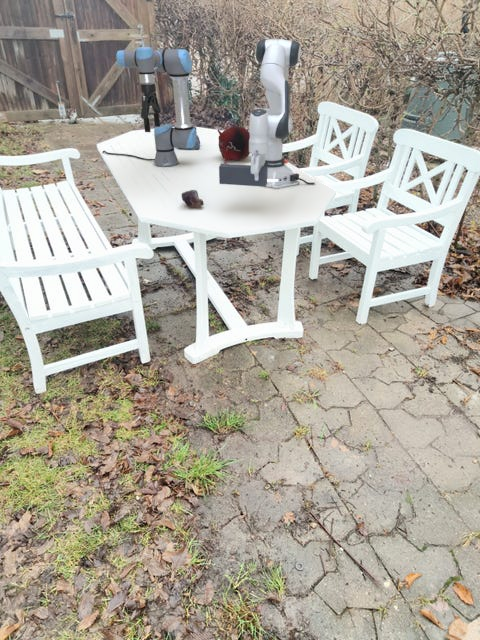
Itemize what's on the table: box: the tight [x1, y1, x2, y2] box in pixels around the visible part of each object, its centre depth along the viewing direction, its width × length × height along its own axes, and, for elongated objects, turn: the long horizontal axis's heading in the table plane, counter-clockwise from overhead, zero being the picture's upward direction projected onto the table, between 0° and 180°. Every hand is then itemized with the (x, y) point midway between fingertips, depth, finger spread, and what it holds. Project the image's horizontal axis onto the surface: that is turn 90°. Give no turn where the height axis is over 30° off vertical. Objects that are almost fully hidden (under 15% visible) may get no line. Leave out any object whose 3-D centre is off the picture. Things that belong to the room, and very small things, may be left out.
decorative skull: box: [217, 125, 251, 164], centre depth 297 cm, size 21×24×25 cm
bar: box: [218, 163, 268, 188], centre depth 216 cm, size 23×5×8 cm, turn 78°
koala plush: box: [180, 120, 201, 150], centre depth 324 cm, size 17×18×20 cm
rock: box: [181, 189, 205, 208], centre depth 227 cm, size 12×9×10 cm
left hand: (152, 129), depth 234 cm, fingers open, 13 cm apart
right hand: (257, 178), depth 216 cm, fingers closed on bar, 5 cm apart
